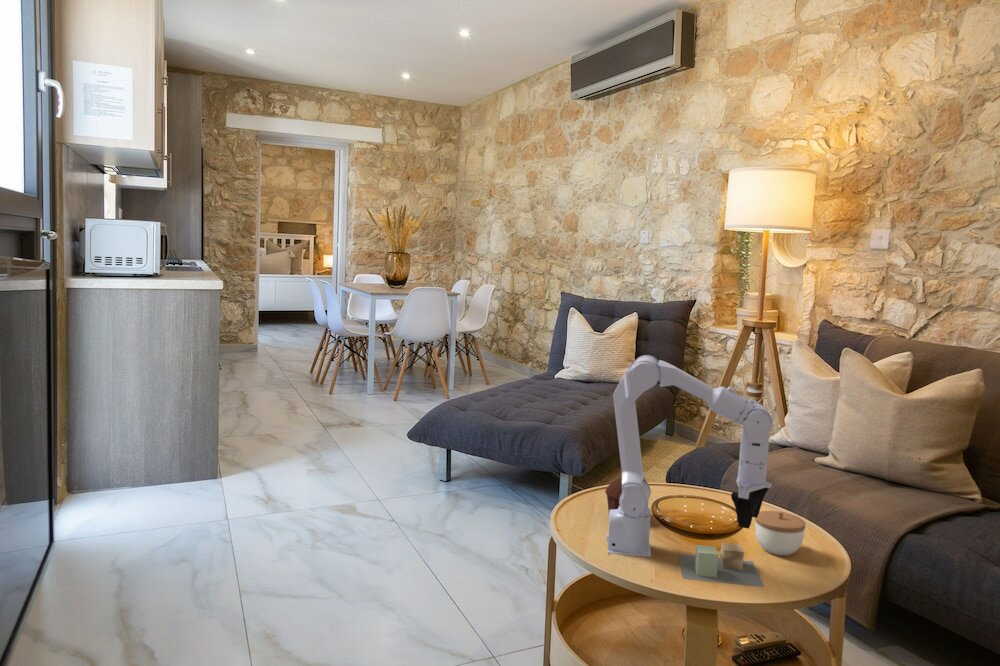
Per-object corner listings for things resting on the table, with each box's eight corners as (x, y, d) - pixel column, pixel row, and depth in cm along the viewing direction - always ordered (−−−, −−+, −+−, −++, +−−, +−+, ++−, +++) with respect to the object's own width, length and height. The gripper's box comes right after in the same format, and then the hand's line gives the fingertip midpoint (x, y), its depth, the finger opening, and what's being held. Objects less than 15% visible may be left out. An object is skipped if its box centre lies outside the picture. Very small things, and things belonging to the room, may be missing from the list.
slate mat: (683, 580, 143) (683, 578, 143) (677, 555, 155) (677, 554, 155) (763, 588, 141) (764, 586, 141) (752, 563, 153) (752, 561, 153)
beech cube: (723, 568, 149) (724, 550, 148) (720, 560, 153) (721, 542, 152) (742, 569, 148) (743, 552, 148) (739, 562, 152) (740, 544, 152)
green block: (696, 575, 145) (698, 552, 144) (694, 567, 149) (696, 544, 148) (716, 577, 144) (718, 554, 144) (714, 569, 148) (715, 546, 148)
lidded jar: (772, 563, 153) (775, 522, 152) (743, 543, 163) (746, 505, 162) (813, 559, 156) (816, 519, 155) (782, 540, 166) (785, 502, 165)
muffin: (599, 509, 183) (601, 472, 182) (640, 508, 184) (642, 472, 183) (611, 526, 171) (613, 487, 170) (655, 526, 172) (657, 487, 171)
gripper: (765, 472, 141) (760, 536, 142) (779, 456, 153) (774, 516, 154) (730, 465, 144) (725, 528, 146) (746, 450, 157) (741, 508, 158)
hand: (748, 521), depth 150 cm, fingers open, 7 cm apart
